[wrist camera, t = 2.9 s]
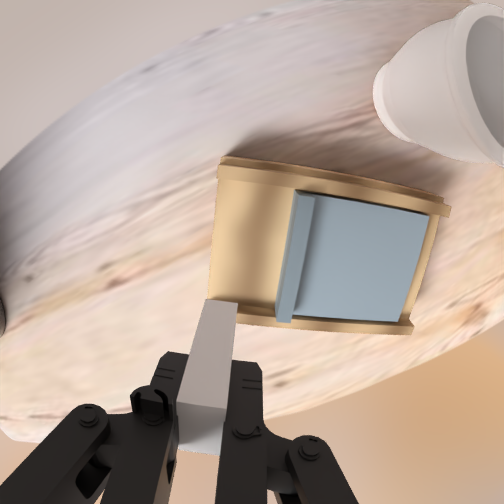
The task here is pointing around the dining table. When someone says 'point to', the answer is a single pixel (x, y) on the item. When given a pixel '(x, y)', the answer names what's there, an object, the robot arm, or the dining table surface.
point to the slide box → (275, 232)
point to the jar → (449, 87)
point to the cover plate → (347, 258)
